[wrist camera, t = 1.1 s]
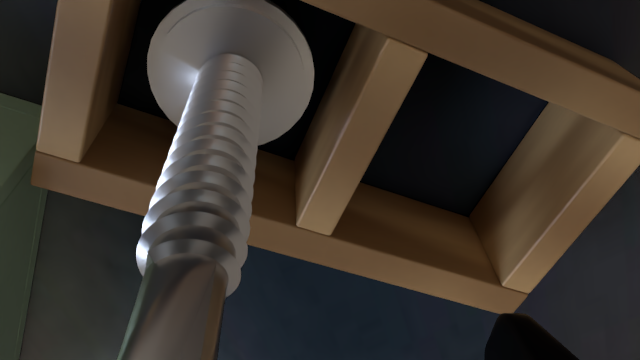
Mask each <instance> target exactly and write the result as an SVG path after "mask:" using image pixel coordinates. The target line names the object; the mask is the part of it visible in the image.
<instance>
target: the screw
mask: <svg viewBox="0 0 640 360" xmlns="http://www.w3.org/2000/svg"><path fill="white" fill-rule="evenodd" d="M147 74H148V78H149V82H150V87H151V90H152V92H153V95H154V97H155V99H156V101H157V103H158V105H159V106H160V108H161V109H162V110H163V112H164V113H165V114H166V116H167V117H168V118H169V119H170V120H171V121H172V122H173V123H174V124H175V125H176V126H178V130H177V132H176V134H175V136H174V140H173V144H172V146H171V148H170V150H169V153H168V157H167V160H166V162H165V164H164V167H163V170H162V174H161V176H160V178H159V180H158V183H157V186H156V192H155V193H154V195H153V197H152V199H151V202H150V206H149V211H148V212H147V214H146V216H145V218H144V221H143V224H142V236H141V238H140V239H139V242H138V245H137V250H136V260H137V265H138V268H139V270H140V272H141V274H142V276H143V279H142V283H141V286H140V289H139V292H138V295H137V298H136V301H135V304H134V307H133V311H132V314H131V317H130V320H129V323H128V326H127V329H126V332H125V336H124V339H123V342H122V345H121V348H120V351H119V354H118V357H117V360H217V357H218V350H219V342H220V334H221V327H222V319H223V312H224V304H225V298H226V297H228V296H229V295H230V294H232V293H233V292H234V291H235V290H236V288H237V287H238V285H239V283H240V279H241V270H240V268H241V267H242V265H243V264H244V262H245V260H246V258H247V252H248V248H247V243H246V242H247V240H248V237H249V234H250V222H249V220H250V217H251V213H252V205H251V202H252V199H253V191H254V190H253V184H254V181H255V168H256V155H257V148H258V145H262V144H265V143H267V142H269V141H272V140H274V139H276V138H278V137H279V136H281V135H282V134H284V133H285V132H287V131H288V130H290V129H291V127H292V126H293V125H294V124H295V123H296V122H297V121H298V120H299V119H300V118H301V116H302V114H303V113H304V111H305V109H306V107H307V106H308V104H309V101H310V98H311V94H312V91H313V85H314V65H313V59H312V53H311V50H310V47H309V45H308V42H307V40H306V37H305V35H304V33H303V32H302V31H301V29H300V28H299V26H298V25H297V23H296V22H295V20H294V19H293V18H292V17H291V16H289V15H288V14H287V13H286V12H285V11H284V10H283V9H282V8H281V7H280V6H278V5H276V4H275V3H273V2H271V1H270V0H184V1H182V2H181V3H179V4H178V5H176V6H175V7H173V9H172V10H171V11H170V12H169V13H168V14H167V15H166V16H165V17H164V18H163V19H162V21H161V22H160V24H159V26H158V28H157V30H156V31H155V33H154V35H153V37H152V39H151V43H150V47H149V51H148V55H147Z"/></svg>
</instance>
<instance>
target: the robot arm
mask: <svg viewBox="0 0 640 360" xmlns="http://www.w3.org/2000/svg"><path fill="white" fill-rule="evenodd" d="M485 360H579V359H578V358H577V357H576V356H574V355H573V354H572V353H571V352H570V351H569V350H568V349H567V348H565V347H564V346H563V345H562V344H561V343H560V342H559V341H558V340H556V339H555V338H554V337H553V336H552V335H551V334H550V333H548V332H547V331H546V330H545V329H544V328H543V327H542V326H541V325H539V324H538V323H537V322H536V321H535V320H534V319H533V318H531V317H530V316H528V315H526V314H519V313H503V314H501V315H500V316H499V317H498V318H497V320H496V323H495V325H494V327H493V330H492V332H491V335H490V337H489V340H488V342H487V344H486V348H485Z"/></svg>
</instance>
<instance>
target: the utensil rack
mask: <svg viewBox="0 0 640 360" xmlns="http://www.w3.org/2000/svg"><path fill="white" fill-rule="evenodd" d="M301 1H303V2H306V3H308V4H310V5H313V6H315V7H318V8H320V9H323V10H325V11H328V12H330V13H333V14H335V15H337V16H340V17H342V18H345V19H347V20H350V21H352V22H355V23H356V24H355V26H354V28H353V31H352V33H351V35H350V37H349V39H348V42H347V44H346V46H345V48H344V50H343V53H342V55H341V57H340V59H339V62H338V64H337V66H336V68H335V70H334V73H333V75H332V77H331V79H330V82H329V84H328V86H327V88H326V90H325V93H324V95H323V97H322V99H321V102H320V104H319V106H318V108H317V110H316V113H315V115H314V117H313V119H312V122H311V124H310V126H309V128H308V130H307V133H306V135H305V137H304V139H303V142H302V144H301V146H300V148H299V150H298V153H297V155H296V157H295V161H293V160H290V159H287V158H284V157H281V156H278V155H274V154H271V153H268V152H265V151H262V150H259V149H257V155H256V168H255V181H254V184H253V190H254V191H253V199H252V202H251V205H252V213H251V217H250V220H249V222H250V234H249V237H248V240H247V242H246V243H247V244H248V245H251V246H255V247H258V248H262V249H266V250H269V251H273V252H277V253H280V254H284V255H288V256H291V257H295V258H298V259H302V260H306V261H309V262H313V263H317V264H320V265H324V266H328V267H331V268H335V269H338V270H342V271H346V272H349V273H353V274H357V275H360V276H364V277H368V278H371V279H375V280H378V281H382V282H386V283H389V284H393V285H397V286H400V287H404V288H408V289H411V290H415V291H419V292H422V293H426V294H429V295H433V296H437V297H440V298H444V299H448V300H451V301H455V302H459V303H462V304H466V305H469V306H473V307H477V308H480V309H484V310H488V311H491V312H495V313H499V314H503V313H514V311H515V310H516V309H517V308H518V307H519V306H520V304H521V303H522V302H523V301H524V300H525V299H526V297H527V296H528V293H530V292H531V291H532V290H533V289H534V288H535V286H536V285H537V284H538V283H539V282H540V281H541V279H542V278H543V277H544V276H545V275H546V274H547V272H548V271H549V270H550V269H551V268H552V267H553V265H554V264H555V263H556V262H557V261H558V260H559V258H560V257H561V256H562V255H563V254H564V253H565V251H566V250H567V249H568V248H569V247H570V245H571V244H572V243H573V242H574V241H575V240H576V238H577V237H578V236H579V235H580V234H581V233H582V231H583V230H584V229H585V228H586V227H587V226H588V224H589V223H590V222H591V221H592V220H593V219H594V217H595V216H596V215H597V214H598V213H599V212H600V210H601V209H602V208H603V207H604V206H605V205H606V203H607V202H608V201H609V200H610V199H611V198H612V196H613V195H614V194H615V193H616V192H617V191H618V189H619V188H620V187H621V186H622V185H623V184H624V182H625V181H626V180H627V179H628V178H629V177H630V175H631V174H632V173H633V172H634V171H635V170H636V168H637V167H638V166H639V165H640V80H639V79H638V78H637V77H635V76H634V75H632V74H631V73H629V72H628V71H627V70H625V69H624V68H622V67H621V66H619V65H618V64H617V63H615V62H614V61H612V60H610V59H608V58H606V57H603V56H601V55H599V54H597V53H595V52H592V51H590V50H588V49H586V48H583V47H581V46H579V45H577V44H575V43H572V42H570V41H568V40H566V39H563V38H561V37H559V36H557V35H555V34H552V33H550V32H548V31H546V30H543V29H541V28H539V27H537V26H535V25H532V24H530V23H528V22H526V21H523V20H521V19H519V18H517V17H515V16H512V15H510V14H508V13H506V12H503V11H501V10H499V9H497V8H495V7H492V6H490V5H488V4H486V3H483V2H481V1H479V0H301ZM140 4H141V0H58V1H57V8H56V14H55V21H54V28H53V35H52V41H51V48H50V55H49V62H48V68H47V75H46V82H45V89H44V95H43V102H42V109H41V116H40V122H39V129H38V136H37V143H36V151H35V155H34V162H33V168H32V175H31V182H30V183H31V185H33V186H37V187H40V188H44V189H47V190H51V191H55V192H58V193H62V194H66V195H69V196H73V197H77V198H80V199H84V200H87V201H91V202H95V203H98V204H102V205H106V206H109V207H113V208H117V209H120V210H124V211H127V212H131V213H135V214H138V215H142V216H146V214H147V212H148V211H149V206H150V202H151V199H152V197H153V195H154V193H155V192H156V186H157V183H158V180H159V178H160V176H161V174H162V170H163V167H164V164H165V162H166V160H167V157H168V153H169V150H170V148H171V146H172V144H173V140H174V136H175V134H176V132H177V130H178V126H176V125H175V124H174V123H173V122H172V121H170V120H167V119H164V118H160V117H157V116H154V115H151V114H148V113H145V112H142V111H139V110H136V109H133V108H130V107H127V106H123V105H120V104H117V102H118V99H119V95H120V91H121V86H122V82H123V77H124V73H125V69H126V64H127V60H128V56H129V51H130V47H131V43H132V38H133V34H134V30H135V25H136V21H137V17H138V12H139V8H140ZM427 52H428V53H430V54H433V55H435V56H438V57H440V58H443V59H445V60H448V61H450V62H452V63H455V64H457V65H460V66H462V67H465V68H467V69H470V70H472V71H475V72H477V73H479V74H482V75H484V76H487V77H489V78H492V79H494V80H497V81H499V82H501V83H504V84H506V85H509V86H511V87H514V88H516V89H519V90H521V91H524V92H526V93H528V94H531V95H533V96H536V97H538V98H541V99H543V100H546V101H548V102H549V103H548V104H547V105H546V107H545V108H544V110H543V111H542V113H541V114H540V115H539V117H538V118H537V120H536V121H535V123H534V124H533V125H532V127H531V128H530V130H529V131H528V133H527V134H526V135H525V137H524V138H523V140H522V141H521V143H520V144H519V145H518V147H517V148H516V150H515V151H514V153H513V154H512V156H511V157H510V158H509V160H508V161H507V163H506V164H505V166H504V167H503V168H502V170H501V171H500V173H499V174H498V176H497V177H496V178H495V180H494V181H493V183H492V184H491V186H490V187H489V188H488V190H487V191H486V193H485V194H484V196H483V197H482V198H481V200H480V201H479V203H478V204H477V206H476V207H475V208H474V210H473V211H472V213H471V214H470V216H469V217H466V216H462V215H459V214H456V213H453V212H450V211H447V210H444V209H441V208H438V207H435V206H432V205H429V204H425V203H422V202H419V201H416V200H413V199H410V198H407V197H404V196H401V195H398V194H395V193H392V192H388V191H385V190H382V189H379V188H376V187H373V186H370V185H367V184H364V183H361V182H360V180H361V179H362V177H363V175H364V173H365V171H366V169H367V167H368V166H369V164H370V162H371V160H372V158H373V156H374V155H375V153H376V151H377V149H378V147H379V145H380V143H381V142H382V140H383V138H384V136H385V134H386V132H387V130H388V129H389V127H390V125H391V123H392V121H393V119H394V118H395V116H396V114H397V112H398V110H399V108H400V106H401V105H402V103H403V101H404V99H405V97H406V95H407V93H408V92H409V90H410V88H411V86H412V84H413V82H414V80H415V79H416V77H417V75H418V73H419V71H420V69H421V68H422V66H423V64H424V62H425V60H426V58H427V56H428V53H427Z"/></svg>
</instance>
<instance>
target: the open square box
mask: <svg viewBox="0 0 640 360" xmlns="http://www.w3.org/2000/svg"><path fill="white" fill-rule="evenodd" d="M41 109H42V106H41V105H38V104H34V103H31V102H28V101H25V100H22V99H18V98H15V97H12V96H9V95H6V94H2V93H0V360H19V357H20V351H21V345H22V339H23V333H24V327H25V321H26V316H27V310H28V304H29V298H30V292H31V286H32V280H33V274H34V269H35V263H36V257H37V251H38V245H39V239H40V233H41V227H42V222H43V216H44V210H45V204H46V198H47V192H48V190H47V189H44V188H40V187H37V186H33V185H31V183H30V182H31V175H32V168H33V162H34V155H35V151H36V143H37V136H38V129H39V122H40V116H41Z"/></svg>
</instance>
